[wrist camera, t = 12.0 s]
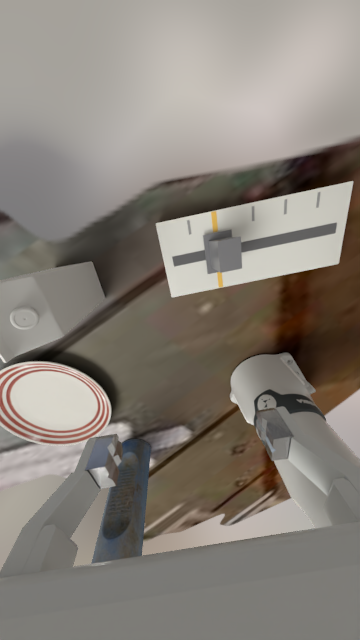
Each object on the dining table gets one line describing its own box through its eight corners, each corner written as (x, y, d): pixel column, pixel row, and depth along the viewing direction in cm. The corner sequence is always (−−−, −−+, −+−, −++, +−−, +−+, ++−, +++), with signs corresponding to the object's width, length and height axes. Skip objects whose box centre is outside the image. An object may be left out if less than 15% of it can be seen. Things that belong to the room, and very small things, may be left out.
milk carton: (70, 304, 34) (-30, 369, 17) (53, 267, 31) (-88, 300, 14) (106, 298, 34) (41, 357, 17) (92, 260, 31) (-3, 285, 14)
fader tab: (230, 229, 27) (246, 226, 22) (233, 268, 30) (247, 274, 24) (202, 235, 28) (211, 233, 22) (207, 273, 30) (216, 281, 24)
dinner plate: (45, 331, 37) (34, 339, 34) (136, 402, 46) (134, 414, 43) (-27, 394, 42) (-42, 406, 39) (67, 446, 52) (61, 459, 49)
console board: (336, 186, 29) (353, 180, 26) (324, 261, 34) (338, 263, 31) (156, 224, 30) (155, 223, 27) (171, 293, 34) (171, 297, 32)
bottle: (147, 436, 52) (123, 653, 25) (153, 455, 56) (138, 660, 29) (115, 440, 52) (55, 662, 25) (124, 459, 56) (80, 668, 29)
